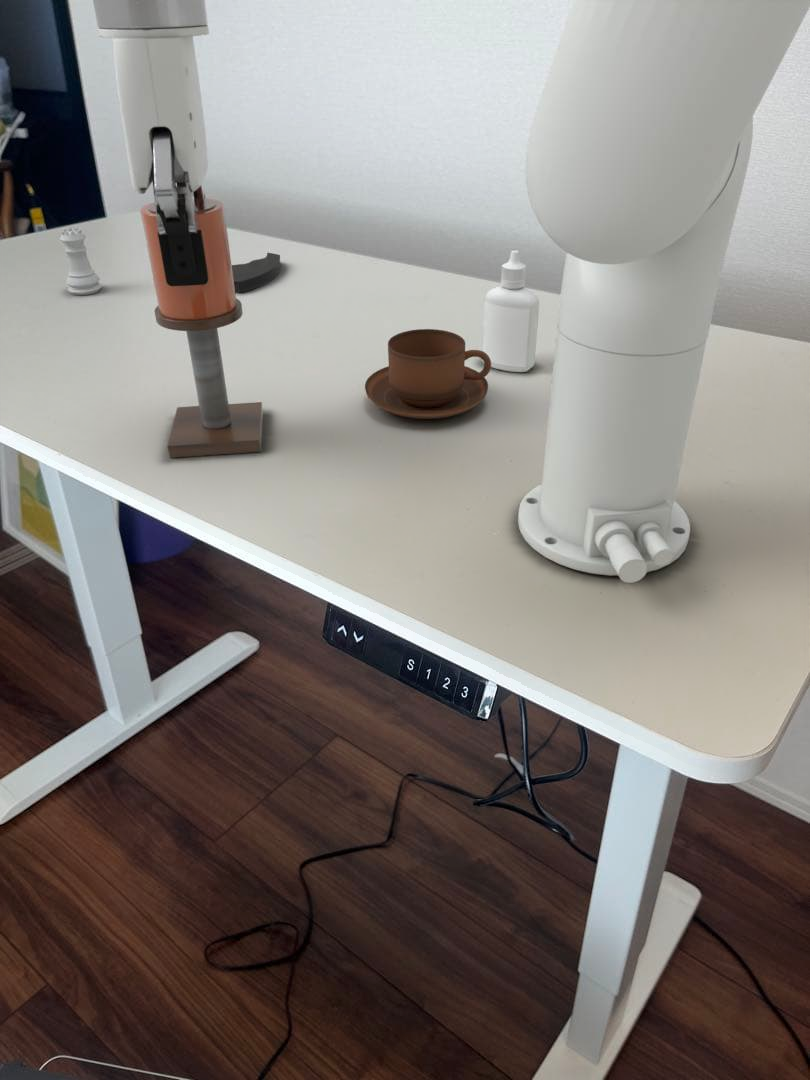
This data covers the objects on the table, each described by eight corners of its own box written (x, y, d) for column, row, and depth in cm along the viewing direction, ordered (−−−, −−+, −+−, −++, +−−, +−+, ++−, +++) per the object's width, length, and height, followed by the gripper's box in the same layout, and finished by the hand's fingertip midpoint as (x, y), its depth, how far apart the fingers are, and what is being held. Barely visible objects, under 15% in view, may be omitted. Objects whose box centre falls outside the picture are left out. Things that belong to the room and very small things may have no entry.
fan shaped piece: (304, 269, 119) (304, 257, 118) (240, 294, 109) (239, 282, 108) (261, 260, 122) (260, 249, 121) (195, 284, 113) (194, 272, 112)
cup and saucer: (457, 371, 87) (458, 314, 84) (508, 417, 78) (512, 355, 74) (349, 388, 84) (346, 330, 80) (390, 439, 74) (388, 375, 71)
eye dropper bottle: (506, 378, 85) (514, 261, 78) (476, 360, 89) (480, 248, 82) (540, 369, 87) (550, 254, 80) (508, 352, 91) (515, 242, 84)
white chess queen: (68, 287, 113) (53, 227, 108) (102, 284, 114) (88, 224, 109) (67, 297, 109) (52, 235, 105) (102, 294, 110) (88, 232, 106)
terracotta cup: (234, 317, 66) (220, 213, 62) (154, 321, 66) (134, 216, 61) (238, 292, 72) (225, 194, 67) (164, 296, 71) (146, 198, 67)
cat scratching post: (261, 452, 73) (244, 320, 66) (169, 458, 72) (142, 325, 65) (263, 413, 79) (248, 289, 72) (179, 418, 79) (156, 294, 72)
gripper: (117, 8, 64) (159, 245, 74) (68, 17, 50) (129, 308, 60) (214, 7, 64) (243, 241, 75) (194, 14, 50) (233, 302, 60)
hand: (192, 268), depth 67 cm, fingers closed on terracotta cup, 6 cm apart
